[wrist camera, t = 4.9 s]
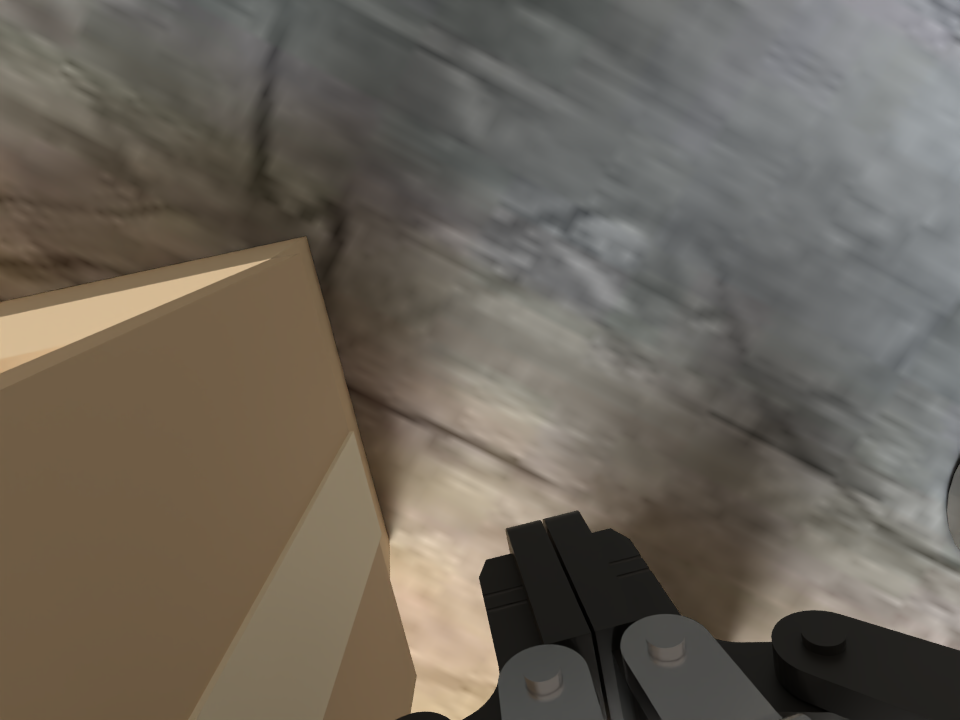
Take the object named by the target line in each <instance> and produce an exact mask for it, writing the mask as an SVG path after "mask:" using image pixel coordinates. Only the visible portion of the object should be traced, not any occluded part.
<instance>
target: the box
mask: <svg viewBox="0 0 960 720" xmlns="http://www.w3.org/2000/svg"><path fill="white" fill-rule="evenodd" d="M299 253H300V256H301V259H302V263H303V267H304V270H305V274H306V277H307V281H308V285H309V288H310V292H311V296H312V299H313V303H314V306H315V310H316V314H317V317H318V321H319V325H320V328H321V332H322V335H323V339H324V343H325V346H326V350H327V354H328V357H329V361H330V364H331V368H332V372H333V375H334V379H335V382H336V386H337V390H338V393H339V397H340V401H341V404H342V408H343V411H344V415H345V419H346V422H347V426H348V430H349V432H352V431H354V435H355V439H356V442H357V446H358V450H359V453H360V457H361V461H362V464H363V468H364V471H365V475H366V479H367V482H368V486H369V490H370V493H371V497H372V501H373V504H374V508H375V512H376V515H377V519H378V523H379V526H380V530H381V534H382V535H381V538H380V541H379V542H380V545H381V549H382V553H383V556H384V560H385V564H386V567H387V571H388V574H389V578H390V545H389V539H388V535H387V531H386V527H385V524H384V520H383V516H382V513H381V509H380V505H379V502H378V498H377V494H376V491H375V487H374V483H373V480H372V476H371V472H370V469H369V465H368V461H367V457H366V454H365V450H364V446H363V443H362V439H361V435H360V432H359V428H358V424H357V421H356V417H355V413H354V410H353V406H352V402H351V399H350V395H349V391H348V388H347V384H346V380H345V376H344V373H343V369H342V365H341V362H340V358H339V354H338V351H337V347H336V343H335V340H334V336H333V332H332V329H331V325H330V321H329V318H328V314H327V310H326V306H325V303H324V299H323V295H322V292H321V288H320V284H319V281H318V277H317V273H316V270H315V266H314V262H313V259H312V255H311V251H310V248H309V244H308V240H307V236H304V237H300V238H295V239H290V240H286V241H281V242H276V243H272V244H267V245H263V246H258V247H253V248H249V249H244V250H239V251H235V252H230V253H225V254H221V255H216V256H211V257H207V258H202V259H197V260H193V261H188V262H183V263H179V264H174V265H169V266H165V267H160V268H156V269H151V270H146V271H142V272H137V273H132V274H128V275H123V276H118V277H114V278H109V279H104V280H100V281H95V282H90V283H86V284H81V285H76V286H72V287H67V288H62V289H58V290H53V291H48V292H44V293H39V294H35V295H30V296H25V297H21V298H16V299H11V300H7V301H2V302H0V373H2V372H5V371H7V370H9V369H12V368H14V367H17V366H19V365H21V364H24V363H26V362H28V361H31V360H33V359H35V358H38V357H40V356H43V355H45V354H47V353H50V352H52V351H54V350H57V349H59V348H61V347H64V346H66V345H69V344H71V343H73V342H76V341H78V340H80V339H83V338H85V337H87V336H90V335H92V334H95V333H97V332H99V331H102V330H104V329H106V328H109V327H111V326H113V325H116V324H118V323H121V322H123V321H125V320H128V319H130V318H132V317H135V316H137V315H139V314H142V313H144V312H146V311H149V310H151V309H154V308H156V307H158V306H161V305H163V304H165V303H168V302H170V301H172V300H175V299H177V298H180V297H182V296H184V295H187V294H189V293H191V292H194V291H196V290H198V289H201V288H203V287H206V286H208V285H210V284H213V283H215V282H217V281H220V280H222V279H224V278H227V277H229V276H232V275H234V274H236V273H239V272H241V271H243V270H246V269H248V268H250V267H253V266H255V265H258V264H260V263H262V262H265V261H267V260H269V259H274V258H279V257H284V256H289V255H294V254H299Z"/></svg>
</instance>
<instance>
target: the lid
mask: <svg viewBox="0 0 960 720" xmlns="http://www.w3.org/2000/svg"><path fill="white" fill-rule="evenodd" d="M381 535H382V534H381V530H380V526H379V523H378V519H377V515H376V512H375V508H374V504H373V501H372V497H371V493H370V490H369V486H368V482H367V479H366V475H365V471H364V468H363V464H362V461H361V457H360V453H359V450H358V446H357V442H356V439H355V435H354V431H352V432H349V430H348V426H347V422H346V419H345V415H344V411H343V408H342V404H341V401H340V397H339V393H338V390H337V386H336V382H335V379H334V375H333V372H332V368H331V364H330V361H329V357H328V354H327V350H326V346H325V343H324V339H323V335H322V332H321V328H320V325H319V321H318V317H317V314H316V310H315V306H314V303H313V299H312V296H311V292H310V288H309V285H308V281H307V277H306V274H305V270H304V267H303V263H302V259H301V256H300V253H299V254H294V255H289V256H284V257H279V258H274V259H269V260H267V261H265V262H262V263H260V264H258V265H255V266H253V267H250V268H248V269H246V270H243V271H241V272H239V273H236V274H234V275H232V276H229V277H227V278H224V279H222V280H220V281H217V282H215V283H213V284H210V285H208V286H206V287H203V288H201V289H198V290H196V291H194V292H191V293H189V294H187V295H184V296H182V297H180V298H177V299H175V300H172V301H170V302H168V303H165V304H163V305H161V306H158V307H156V308H154V309H151V310H149V311H146V312H144V313H142V314H139V315H137V316H135V317H132V318H130V319H128V320H125V321H123V322H121V323H118V324H116V325H113V326H111V327H109V328H106V329H104V330H102V331H99V332H97V333H95V334H92V335H90V336H87V337H85V338H83V339H80V340H78V341H76V342H73V343H71V344H69V345H66V346H64V347H61V348H59V349H57V350H54V351H52V352H50V353H47V354H45V355H43V356H40V357H38V358H35V359H33V360H31V361H28V362H26V363H24V364H21V365H19V366H17V367H14V368H12V369H9V370H7V371H5V372H2V373H0V720H396V719H398V718H400V717H402V716H405V715H408V714H410V713H411V707H412V700H413V694H414V688H415V682H416V672H415V669H414V665H413V661H412V658H411V654H410V650H409V647H408V643H407V640H406V636H405V632H404V629H403V625H402V621H401V618H400V614H399V611H398V607H397V603H396V600H395V596H394V593H393V589H392V585H391V582H390V578H389V574H388V571H387V567H386V564H385V560H384V556H383V553H382V549H381V545H380V542H379V541H380V538H381Z"/></svg>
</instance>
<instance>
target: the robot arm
mask: <svg viewBox="0 0 960 720" xmlns="http://www.w3.org/2000/svg"><path fill="white" fill-rule="evenodd" d="M947 516H948V524H949V530H950V532H951V535H952V538H953V540H954V543H955V545H956V546H957V547H958V549H959V550H960V464H959V466H958V468H957V470H956V472H955V474H954V477H953V481H952V484H951V487H950V490H949V496H948V506H947ZM506 535H507V540H508V545H509V550H510V554H507V555H503V556H500V557H496V558H492V559H488V560H486V561H485V564H484V566H483V569H482V571H481V574H480V576H479V580H480V584H481V589H482V593H483V598H484V602H485V607H486V611H487V616H488V620H489V625H490V629H491V634H492V638H493V643H494V648H495V652H496V657H497V661H498V666H499V679H498V684H497V687H496V689H495V691H494V693H493V694H492V696H491V697H490V699H489V700H488V701H487V702H486V703H485V704H484V705H483V706H482V707H481V708H480V709H479V710H477V711H476V712H474V713H473V714H471V715H470V716H468V717H466V718H465V719H463V720H960V651H959V650H956V649H952V648H949V647H946V646H942V645H939V644H936V643H933V642H929V641H926V640H923V639H919V638H916V637H913V636H910V635H906V634H903V633H900V632H897V631H893V630H890V629H887V628H883V627H880V626H877V625H874V624H870V623H867V622H864V621H860V620H857V619H854V618H851V617H847V616H844V615H841V614H837V613H833V612H827V611H816V610H811V611H802V612H796V613H793V614H790V615H788V616H786V617H784V618H783V619H781V620H780V621H779V622H778V623H777V624H776V625H775V627H774V629H773V631H772V635H771V637H772V642H742V643H741V642H727V641H721V640H717V639H714V637H713V636H712V635H711V634H710V633H709V631H708V630H707V629H706V628H705V627H704V626H702V625H701V624H700V623H698V622H696V621H694V620H692V619H690V618H687V617H684V616H681V615H680V613H679V612H678V610H677V609H676V607H675V606H674V604H673V603H672V601H671V600H670V598H669V597H668V595H667V594H666V592H665V591H664V589H663V588H662V587H661V585H660V584H659V582H658V581H657V579H656V578H655V576H654V575H653V573H652V572H651V571H650V570H649V567H648V566H647V564H646V563H645V561H644V560H643V558H641V556H640V554H639V552H638V551H637V549H636V548H635V546H634V545H633V543H632V542H631V540H630V539H628V538H627V537H625V536H623V535H621V534H620V533H618V532H616V531H614V530H613V529H611V528H610V529H606V530H602V531H598V532H594V533H591V531H590V530H589V528H588V526H587V524H586V523H585V521H584V519H583V517H582V516H581V514H580V512H579V511H574V512H570V513H566V514H562V515H558V516H554V517H550V518H545V519H543V523H542V521H541V520H538V521H534V522H530V523H526V524H522V525H518V526H514V527H510V528H506ZM396 720H450V719H448V718H447V717H446V716H443V715H441V714H438V713H434V712H416V713H412V714H408V715H405V716H402V717H400V718H398V719H396Z"/></svg>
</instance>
